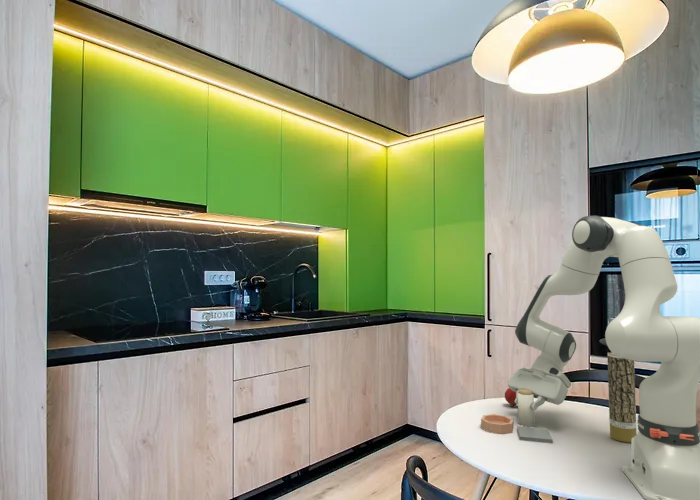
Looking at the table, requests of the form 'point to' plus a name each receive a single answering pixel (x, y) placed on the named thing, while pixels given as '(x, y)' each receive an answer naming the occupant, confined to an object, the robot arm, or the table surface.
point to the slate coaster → (534, 434)
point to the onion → (510, 397)
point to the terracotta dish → (497, 423)
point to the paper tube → (621, 398)
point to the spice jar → (525, 407)
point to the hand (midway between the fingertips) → (524, 406)
